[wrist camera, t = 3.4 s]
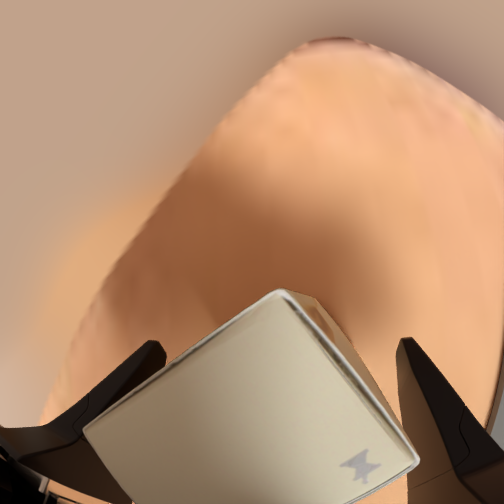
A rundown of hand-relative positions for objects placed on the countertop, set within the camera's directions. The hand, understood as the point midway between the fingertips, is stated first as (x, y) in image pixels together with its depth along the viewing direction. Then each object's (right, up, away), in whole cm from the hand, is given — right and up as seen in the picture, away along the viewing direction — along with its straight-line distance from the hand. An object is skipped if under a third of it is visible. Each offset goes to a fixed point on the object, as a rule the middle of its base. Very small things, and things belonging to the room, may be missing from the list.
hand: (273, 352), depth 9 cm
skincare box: (+2, -3, +6) cm, 7 cm away
